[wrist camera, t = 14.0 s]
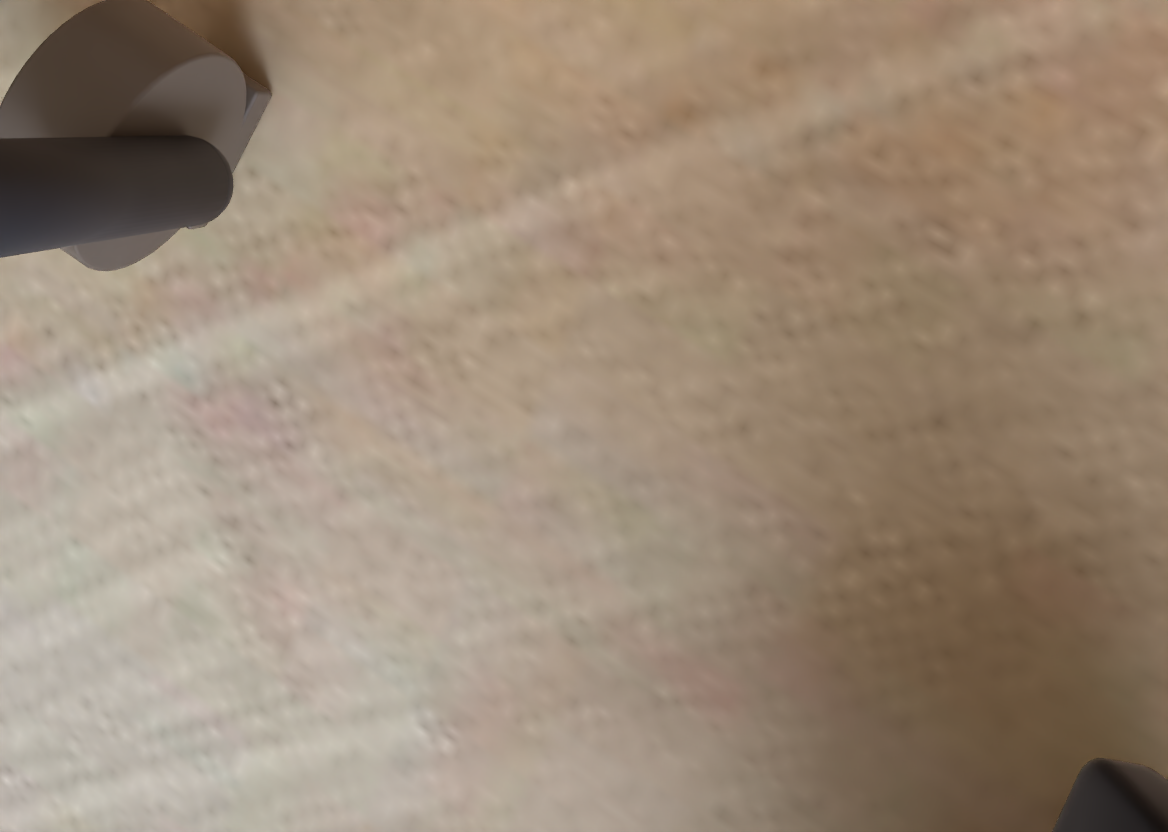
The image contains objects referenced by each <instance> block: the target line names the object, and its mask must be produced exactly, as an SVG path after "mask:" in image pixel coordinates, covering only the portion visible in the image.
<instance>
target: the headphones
mask: <svg viewBox="0 0 1168 832" xmlns="http://www.w3.org/2000/svg"><path fill="white" fill-rule="evenodd" d="M271 96H272V93H271V92H270V91H269V90H268V89H266V88H265V87H263V86H262V85H260V84H259V83H257V82H256V81H255V80H253V79H252V78H250V77H249V76H247V75H246V74H244V73H243V72H242V70H241V69H240V67H239V65H238V64H237V62H236V61H235V60H234V59H233V58H232V57H230V56H229V55H227V54H226V53H224V52H223V51H221V50H220V49H218V48H217V47H215V46H214V45H212V44H211V43H209V42H208V41H206V40H205V39H204V38H202V37H201V36H199V35H198V34H196V33H195V32H193V31H192V30H190V29H189V28H187V27H186V26H184V25H183V24H181V23H180V22H178V21H177V20H176V19H174V18H173V17H171V16H170V15H168V14H167V13H165V12H164V11H162V10H161V9H159V8H158V7H156V6H155V5H153V4H151V3H150V2H148V1H145V0H105V1H102V2H100V3H97V4H95V5H93V6H90V7H88V8H86V9H85V10H83V11H81V12H79V13H78V14H76V15H75V16H73V17H72V18H70V19H69V20H68V21H66V22H65V23H64V24H62V25H61V26H60V27H59V28H58V29H57V30H55V31H54V32H53V33H52V34H51V35H50V36H49V37H48V38H47V39H46V40H45V41H44V42H43V43H42V44H41V45H40V46H39V47H38V48H37V49H36V51H35V52H34V53H33V54H32V56H31V57H30V58H29V59H28V61H27V62H26V63H25V65H24V66H23V67H22V69H21V70H20V72H19V73H18V75H17V76H16V78H15V79H14V81H13V83H12V84H11V86H10V88H9V90H8V91H7V93H6V95H5V97H4V99H3V102H2V104H1V106H0V258H1V257H7V256H13V255H19V254H26V253H32V252H38V251H44V250H50V249H56V248H60V249H62V250H63V251H65V252H66V253H67V254H69V255H70V256H72V257H73V258H75V259H76V260H78V261H79V262H81V263H82V264H84V265H85V266H86V267H88V268H91V269H94V270H98V271H113V270H118V269H121V268H125V267H127V266H129V265H132V264H134V263H136V262H138V261H140V260H141V259H143V258H145V257H146V256H148V255H149V254H151V253H152V252H154V251H155V250H157V249H158V248H159V247H160V246H162V245H163V244H164V243H165V242H166V241H168V240H169V239H170V238H171V237H172V236H173V235H174V234H175V233H176V232H177V231H178V230H179V229H180V228H184V227H187V228H188V229H194V228H200V227H205V226H206V225H207V223H208V222H209V221H212V220H213V219H215V218H216V217H218V216H219V215H220V214H221V213H222V212H223V211H224V210H225V208H226V207H227V205H228V204H229V202H230V199H231V197H232V193H233V175H232V173H233V171H234V169H235V167H236V165H237V163H238V161H239V159H240V157H241V155H242V153H243V151H244V149H245V147H246V145H247V143H248V141H249V140H250V138H251V136H252V134H253V132H254V130H255V128H256V126H257V124H258V122H259V120H260V118H261V116H262V114H263V112H264V110H265V108H266V106H267V104H268V102H269V100H270V98H271Z"/></svg>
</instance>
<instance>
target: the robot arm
mask: <svg viewBox="0 0 1168 832" xmlns="http://www.w3.org/2000/svg"><path fill="white" fill-rule="evenodd" d="M1052 832H1168V780H1167V779H1166V778H1164V777H1163V776H1162V775H1160V774H1159V773H1157V772H1156V771H1154V770H1153V769H1151V768H1149V767H1146V766H1143V765H1139V764H1134V763H1128V762H1122V761H1116V760H1111V759H1104V758H1097V759H1094V760H1091V761H1089V762H1088V763H1087V764H1086V765H1085V766H1084V767H1082V769H1081V771H1080V773H1079V774H1078V776H1077V779H1076V781H1075V783H1074V785H1073V787H1072V789H1071V792H1070V794H1069V796H1068V798H1067V800H1066V803H1065V805H1064V807H1063V809H1062V811H1061V814H1060V816H1059V818H1058V820H1057V822H1056V824H1055V827H1054V829H1053V831H1052Z"/></svg>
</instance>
